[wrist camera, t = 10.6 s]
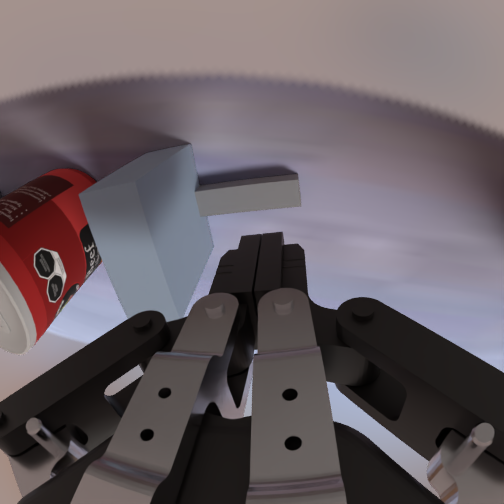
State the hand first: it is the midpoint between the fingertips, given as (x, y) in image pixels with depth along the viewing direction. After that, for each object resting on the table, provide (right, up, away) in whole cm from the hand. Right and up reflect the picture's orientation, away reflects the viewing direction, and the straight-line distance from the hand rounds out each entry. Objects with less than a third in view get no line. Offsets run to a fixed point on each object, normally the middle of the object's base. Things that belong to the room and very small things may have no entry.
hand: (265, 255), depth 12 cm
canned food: (-14, +3, +10) cm, 17 cm away
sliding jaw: (-2, +4, +7) cm, 9 cm away
